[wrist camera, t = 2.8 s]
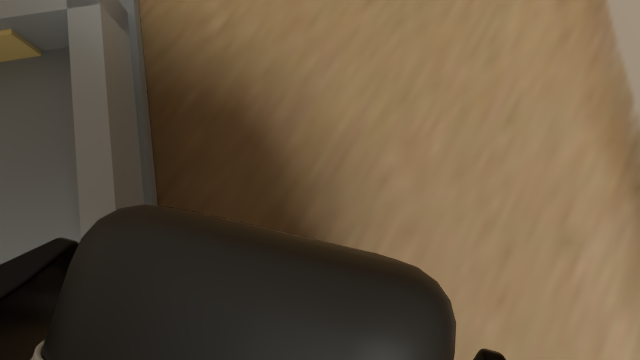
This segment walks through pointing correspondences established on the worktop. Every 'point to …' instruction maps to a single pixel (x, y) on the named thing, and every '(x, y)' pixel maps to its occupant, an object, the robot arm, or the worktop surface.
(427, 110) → the worktop surface
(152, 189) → the tray
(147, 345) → the battery charger
